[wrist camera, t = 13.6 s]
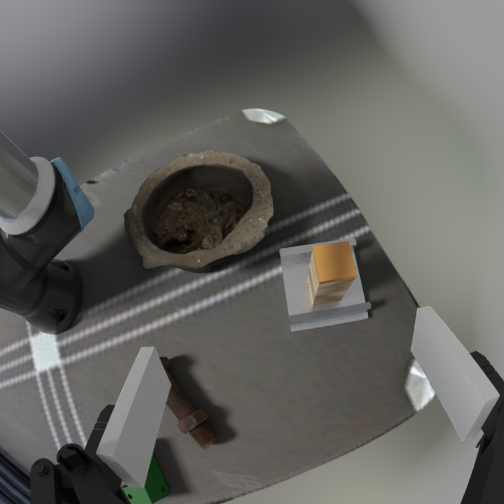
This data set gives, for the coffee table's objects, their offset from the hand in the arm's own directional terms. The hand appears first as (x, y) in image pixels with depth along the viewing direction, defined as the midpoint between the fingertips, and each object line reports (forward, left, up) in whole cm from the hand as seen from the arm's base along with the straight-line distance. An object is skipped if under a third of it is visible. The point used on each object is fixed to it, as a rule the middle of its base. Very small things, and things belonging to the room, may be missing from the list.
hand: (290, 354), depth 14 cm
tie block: (+7, +11, -31) cm, 33 cm away
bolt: (-17, -4, -32) cm, 36 cm away
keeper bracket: (+7, +11, -32) cm, 34 cm away
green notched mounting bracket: (-25, -16, -32) cm, 44 cm away
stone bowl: (-11, +27, -32) cm, 43 cm away
